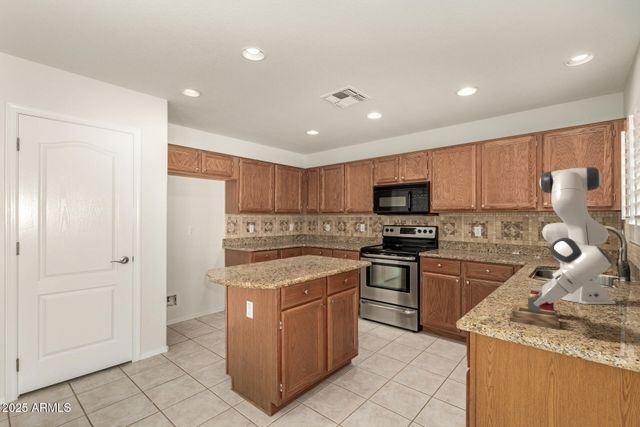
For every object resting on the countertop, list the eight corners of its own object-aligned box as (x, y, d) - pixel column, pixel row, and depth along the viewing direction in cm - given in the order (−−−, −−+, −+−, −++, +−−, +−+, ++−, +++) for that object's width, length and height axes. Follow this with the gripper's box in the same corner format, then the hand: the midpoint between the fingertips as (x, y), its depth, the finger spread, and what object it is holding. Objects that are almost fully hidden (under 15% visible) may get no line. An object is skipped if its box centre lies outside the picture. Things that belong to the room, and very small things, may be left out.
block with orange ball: (539, 316, 123) (539, 294, 123) (539, 319, 120) (538, 296, 120) (528, 315, 125) (528, 293, 125) (528, 317, 122) (527, 294, 122)
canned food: (557, 317, 126) (557, 291, 126) (536, 316, 128) (535, 290, 128) (547, 311, 134) (547, 287, 134) (527, 310, 135) (527, 286, 135)
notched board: (558, 321, 122) (558, 311, 122) (559, 329, 113) (559, 318, 113) (511, 313, 131) (511, 304, 131) (509, 320, 122) (509, 311, 123)
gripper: (557, 270, 126) (529, 290, 132) (559, 278, 109) (527, 301, 115) (571, 282, 123) (542, 302, 129) (575, 292, 107) (542, 315, 113)
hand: (535, 301), depth 122 cm, fingers open, 8 cm apart
